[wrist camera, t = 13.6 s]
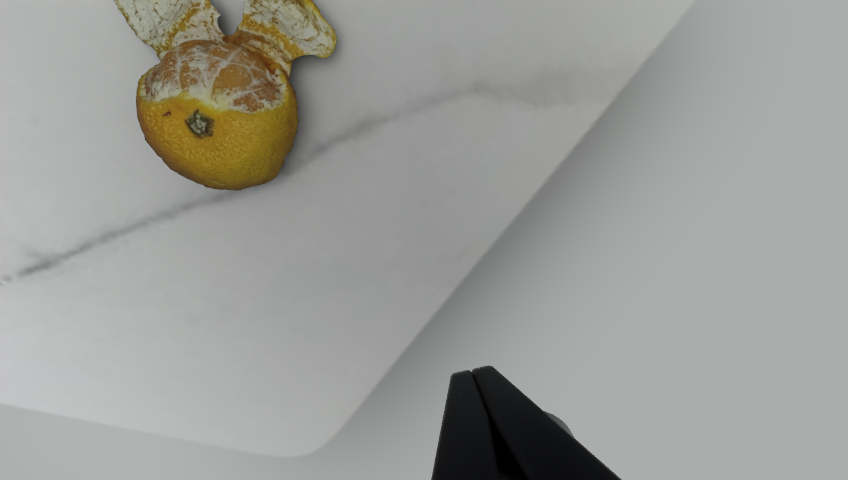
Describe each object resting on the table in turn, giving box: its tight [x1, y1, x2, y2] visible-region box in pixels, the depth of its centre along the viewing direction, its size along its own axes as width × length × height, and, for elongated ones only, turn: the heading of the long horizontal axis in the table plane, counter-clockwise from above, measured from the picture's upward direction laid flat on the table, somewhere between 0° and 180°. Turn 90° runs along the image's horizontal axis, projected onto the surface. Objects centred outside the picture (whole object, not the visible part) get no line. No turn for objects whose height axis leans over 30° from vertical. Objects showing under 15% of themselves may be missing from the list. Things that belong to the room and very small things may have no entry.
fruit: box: [115, 0, 337, 190], centre depth 16 cm, size 8×8×4 cm
